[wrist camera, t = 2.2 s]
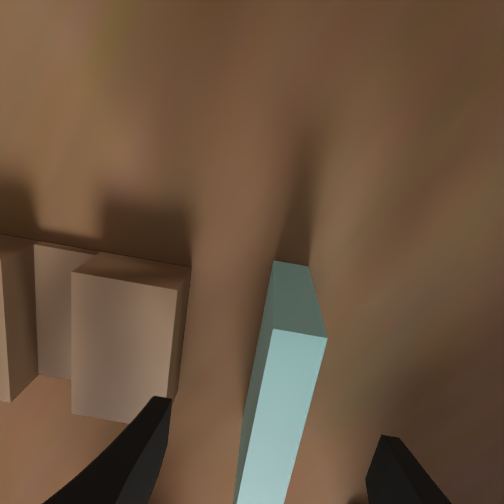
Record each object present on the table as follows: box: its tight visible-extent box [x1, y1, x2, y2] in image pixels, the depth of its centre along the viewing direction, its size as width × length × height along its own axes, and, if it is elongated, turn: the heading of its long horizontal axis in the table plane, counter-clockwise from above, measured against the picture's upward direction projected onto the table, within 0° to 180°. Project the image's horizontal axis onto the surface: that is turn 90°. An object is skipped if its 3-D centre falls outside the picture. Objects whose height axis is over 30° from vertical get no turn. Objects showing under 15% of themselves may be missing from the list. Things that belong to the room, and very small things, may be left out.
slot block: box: [0, 234, 192, 424], centre depth 16 cm, size 11×7×2 cm, turn 81°
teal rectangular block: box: [233, 260, 328, 504], centre depth 15 cm, size 2×9×6 cm, turn 170°
